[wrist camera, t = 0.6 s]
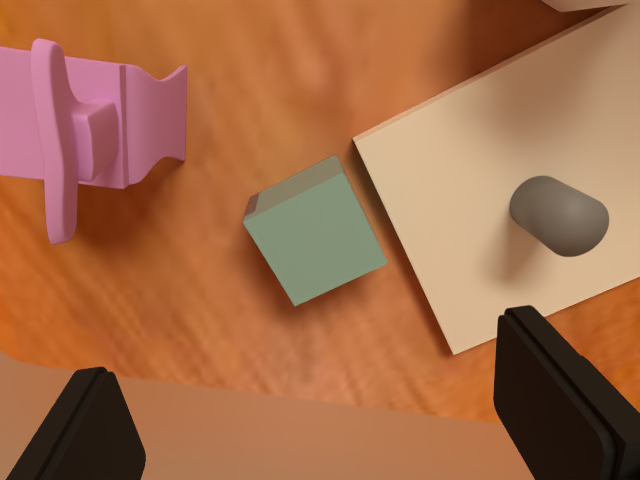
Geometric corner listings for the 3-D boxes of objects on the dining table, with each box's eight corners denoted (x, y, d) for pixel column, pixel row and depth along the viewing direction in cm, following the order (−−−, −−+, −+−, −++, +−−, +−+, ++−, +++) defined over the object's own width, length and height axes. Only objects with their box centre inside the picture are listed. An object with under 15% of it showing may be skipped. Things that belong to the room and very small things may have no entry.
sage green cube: (375, 234, 34) (387, 263, 30) (294, 272, 35) (294, 306, 31) (336, 154, 32) (343, 172, 27) (249, 197, 32) (242, 222, 28)
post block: (677, 246, 36) (753, 285, 30) (448, 344, 39) (476, 398, 33) (633, -6, 28) (723, -20, 23) (352, 138, 31) (366, 159, 25)
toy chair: (42, 27, 27) (-211, 6, 14) (187, 48, 28) (87, 49, 15) (54, 159, 31) (-140, 249, 17) (184, 174, 32) (100, 272, 18)
